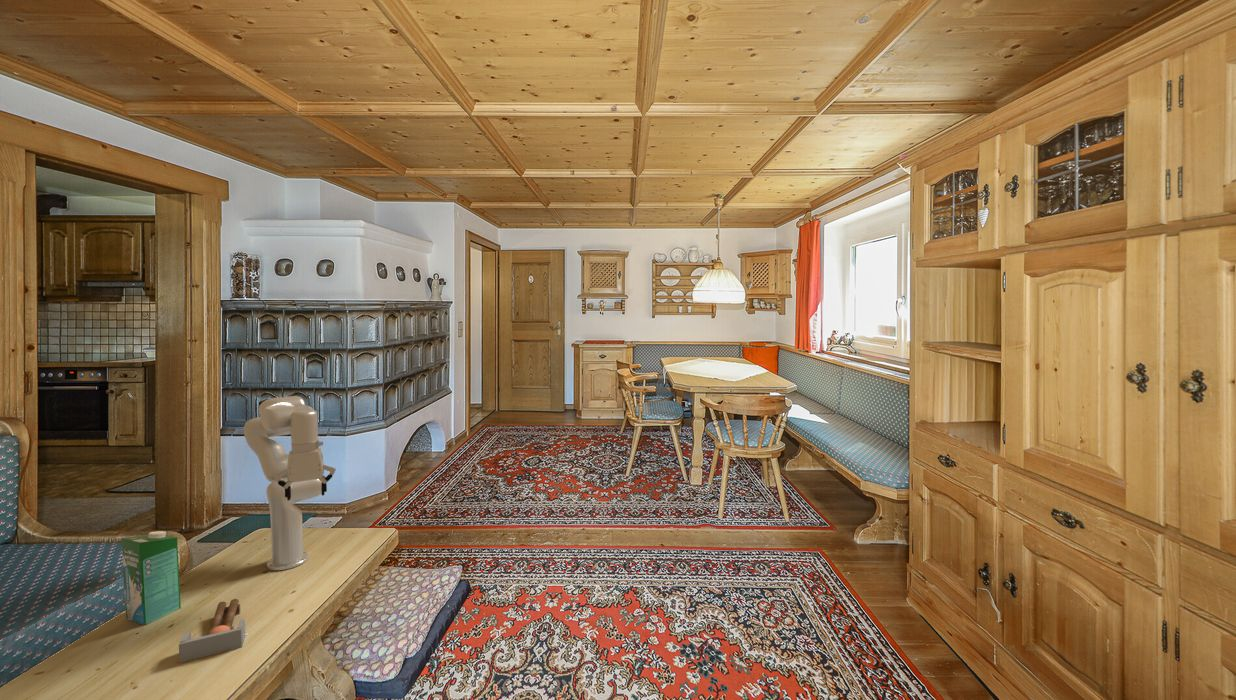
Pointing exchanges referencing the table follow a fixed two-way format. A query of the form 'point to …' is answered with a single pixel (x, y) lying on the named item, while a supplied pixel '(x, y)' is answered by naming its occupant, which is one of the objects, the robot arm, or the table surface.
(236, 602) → the brown piece
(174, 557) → the milk carton
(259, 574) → the table surface
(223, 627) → the ball
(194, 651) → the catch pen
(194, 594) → the table surface
